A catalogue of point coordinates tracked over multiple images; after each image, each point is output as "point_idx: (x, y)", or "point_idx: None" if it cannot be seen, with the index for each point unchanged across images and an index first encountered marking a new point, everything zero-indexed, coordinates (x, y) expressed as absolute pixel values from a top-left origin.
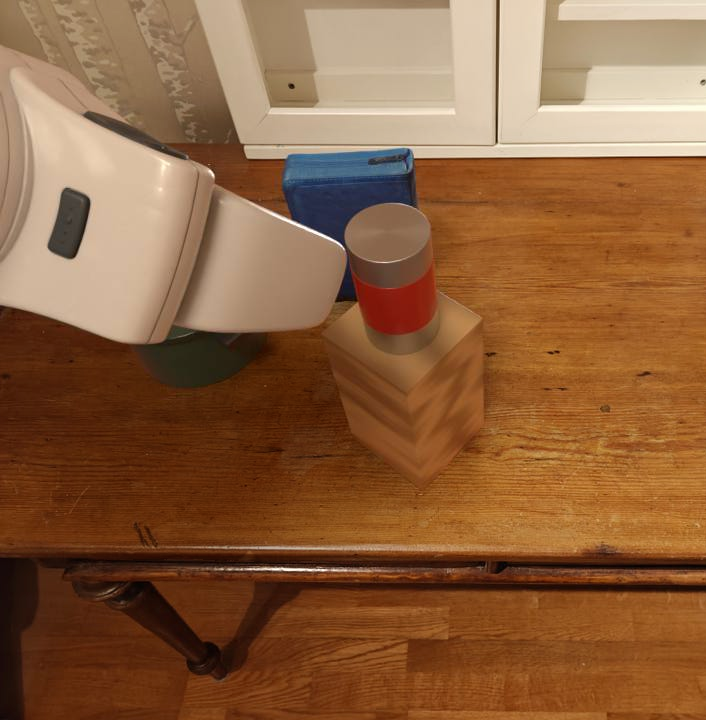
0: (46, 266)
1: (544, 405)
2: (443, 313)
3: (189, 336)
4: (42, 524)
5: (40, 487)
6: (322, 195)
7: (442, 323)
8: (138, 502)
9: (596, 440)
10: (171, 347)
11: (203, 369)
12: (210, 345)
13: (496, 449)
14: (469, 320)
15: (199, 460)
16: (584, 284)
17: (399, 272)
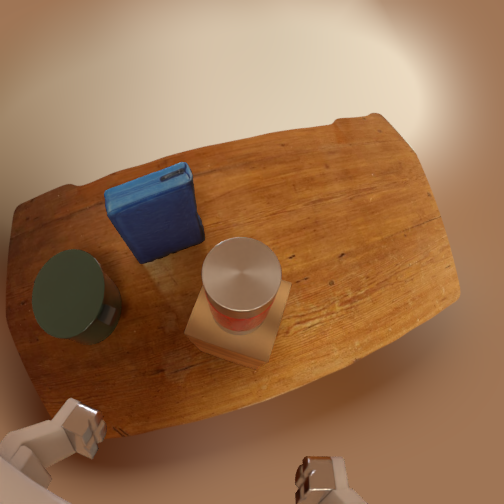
0: None
1: (300, 292)
2: None
3: (87, 328)
4: None
5: None
6: (135, 212)
7: None
8: (107, 416)
9: (334, 304)
10: (80, 335)
11: (99, 335)
12: (98, 325)
13: (285, 329)
14: (283, 287)
15: (123, 387)
16: (290, 208)
17: (265, 307)
